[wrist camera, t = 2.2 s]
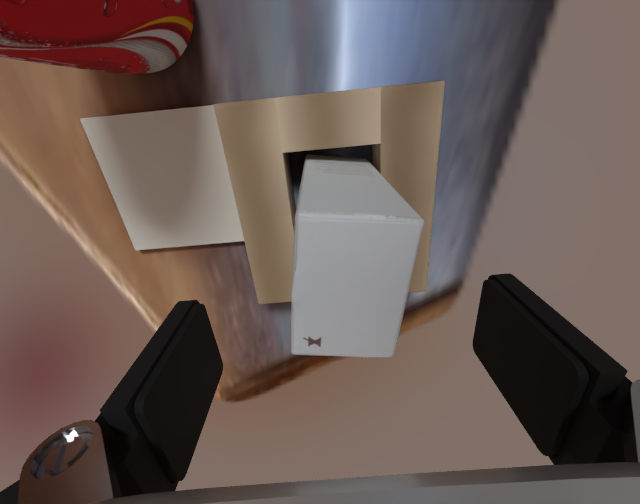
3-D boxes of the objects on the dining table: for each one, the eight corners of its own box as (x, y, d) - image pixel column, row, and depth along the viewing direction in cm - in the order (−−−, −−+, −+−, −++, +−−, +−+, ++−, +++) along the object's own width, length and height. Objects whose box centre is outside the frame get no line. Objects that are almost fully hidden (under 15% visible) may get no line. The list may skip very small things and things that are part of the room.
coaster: (228, 103, 18) (226, 103, 18) (256, 236, 22) (254, 240, 22) (86, 118, 18) (79, 118, 18) (139, 246, 23) (135, 250, 22)
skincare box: (358, 238, 22) (394, 363, 12) (301, 234, 22) (286, 359, 12) (369, 154, 20) (430, 219, 9) (305, 150, 19) (289, 211, 9)
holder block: (425, 83, 18) (445, 80, 15) (413, 269, 24) (425, 291, 21) (228, 103, 18) (213, 104, 15) (265, 281, 24) (258, 304, 21)
